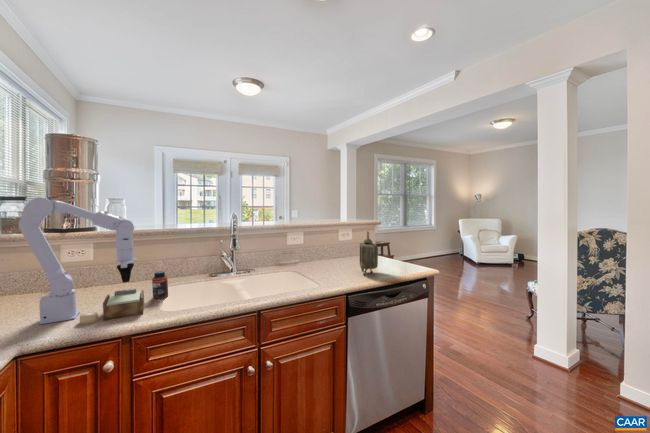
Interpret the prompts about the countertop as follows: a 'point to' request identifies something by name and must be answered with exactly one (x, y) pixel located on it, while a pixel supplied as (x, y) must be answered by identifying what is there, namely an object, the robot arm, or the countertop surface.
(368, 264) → the green suitcase
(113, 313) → the box
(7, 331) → the countertop surface
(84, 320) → the beige square block
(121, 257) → the robot arm
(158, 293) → the supplement bottle
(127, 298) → the lid
